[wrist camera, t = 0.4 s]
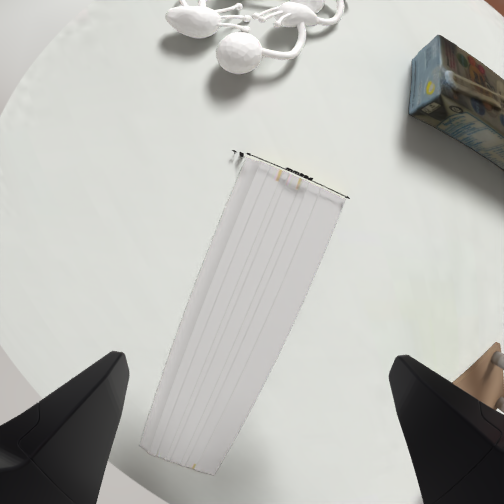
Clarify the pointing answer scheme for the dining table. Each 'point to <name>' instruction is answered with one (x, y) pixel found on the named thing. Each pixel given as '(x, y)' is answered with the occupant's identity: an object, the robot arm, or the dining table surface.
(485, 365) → the peg plate
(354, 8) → the dining table surface
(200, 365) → the baseboard
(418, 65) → the dark weathered brick
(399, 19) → the dining table surface
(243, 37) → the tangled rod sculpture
